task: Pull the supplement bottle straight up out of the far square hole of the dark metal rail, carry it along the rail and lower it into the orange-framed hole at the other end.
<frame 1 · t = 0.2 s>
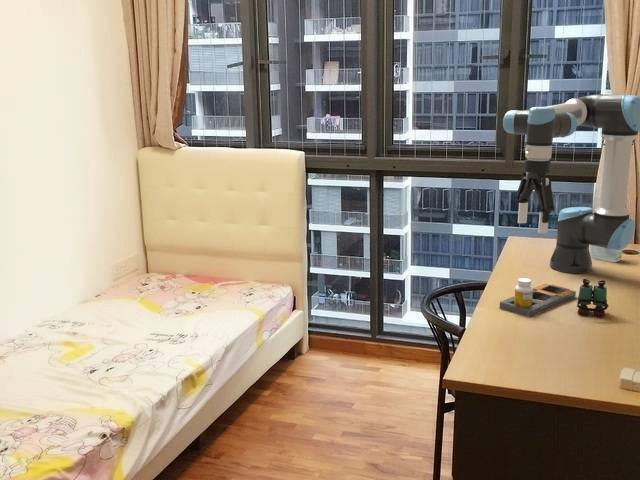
hand: (532, 227, 207), 26 cm above the table, tool pointing down, fingers open, 13 cm apart
skincare box: (605, 259, 267), on the table
binoculars: (591, 315, 208), on the table
supplement bottle: (522, 309, 213), resting in hole rail
hole rail: (538, 302, 219), on the table
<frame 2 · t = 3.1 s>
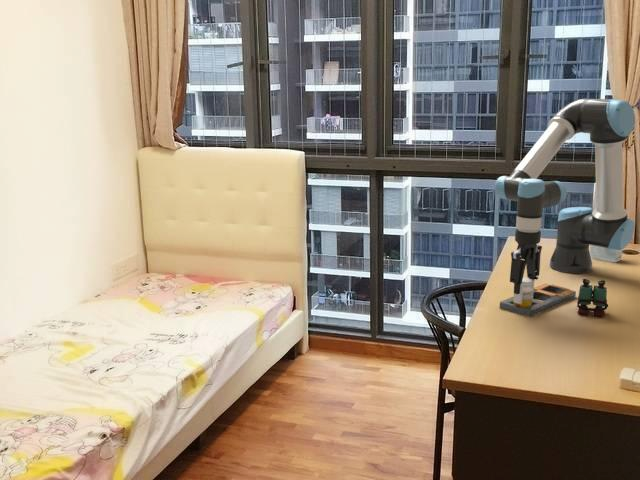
hand: (523, 300, 213), 3 cm above the table, tool pointing down, fingers closed on supplement bottle, 5 cm apart
supplement bottle: (522, 309, 213), resting in hole rail, touching gripper
everything else where it was.
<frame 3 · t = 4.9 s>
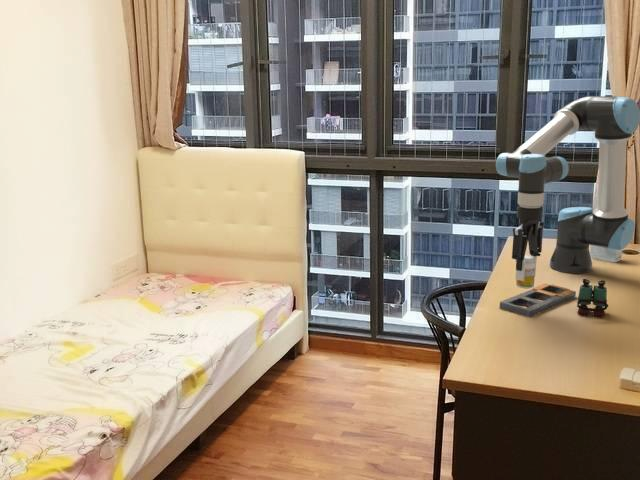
hand: (525, 277, 211), 10 cm above the table, tool pointing down, fingers closed on supplement bottle, 5 cm apart
supplement bottle: (524, 286, 212), point 7 cm above the table, touching gripper
everything else where it was.
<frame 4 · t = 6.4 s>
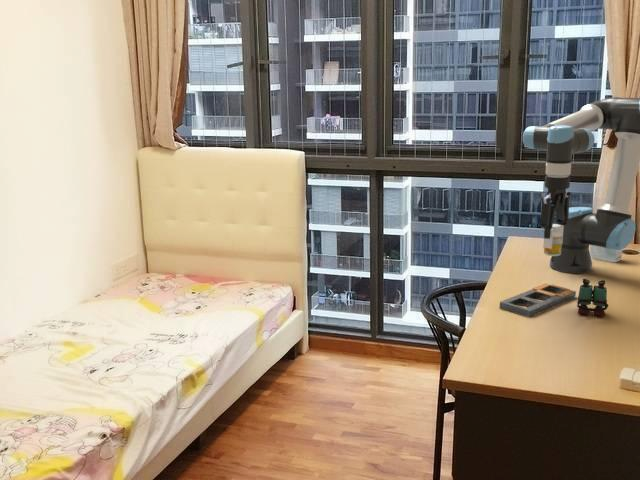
hand: (552, 245, 218), 18 cm above the table, tool pointing down, fingers closed on supplement bottle, 5 cm apart
supplement bottle: (552, 254, 219), point 15 cm above the table, touching gripper
everything else where it was.
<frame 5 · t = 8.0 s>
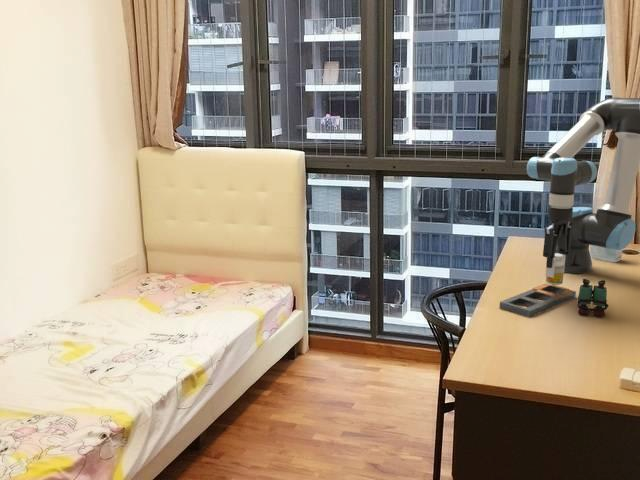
hand: (554, 274, 223), 8 cm above the table, tool pointing down, fingers closed on supplement bottle, 5 cm apart
supplement bottle: (553, 283, 223), point 5 cm above the table, touching gripper
everything else where it was.
when the fingers open (4 cm above the table, at t = 9.5 s): supplement bottle stays where it is, resting in hole rail.
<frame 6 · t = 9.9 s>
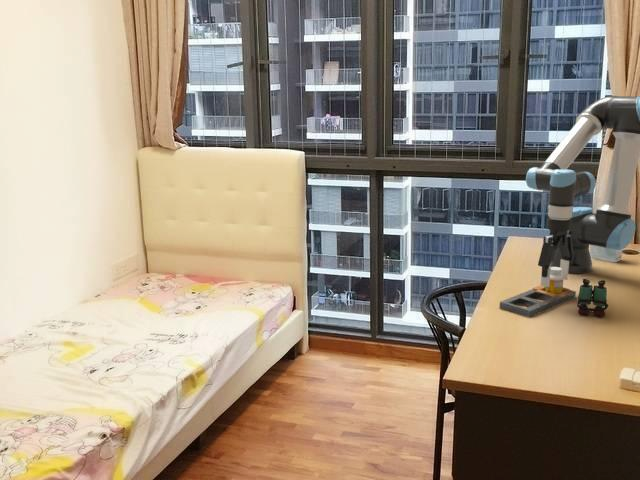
hand: (554, 282, 223), 5 cm above the table, tool pointing down, fingers open, 10 cm apart
supplement bottle: (553, 296, 225), resting in hole rail
everything else where it was.
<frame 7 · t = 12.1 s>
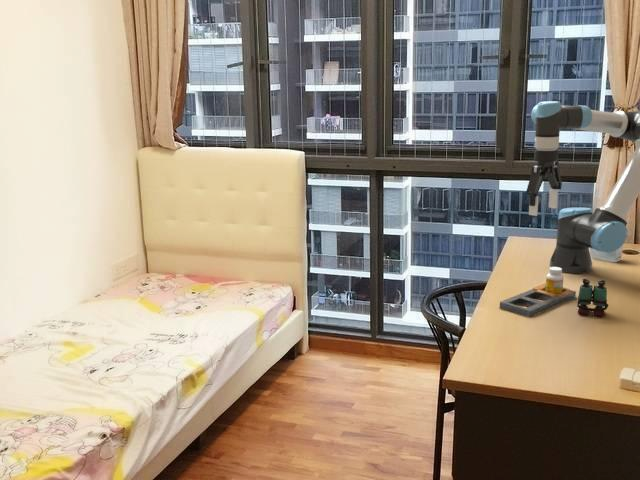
hand: (543, 211, 228), 27 cm above the table, tool pointing down, fingers open, 13 cm apart
nothing on the table moved.
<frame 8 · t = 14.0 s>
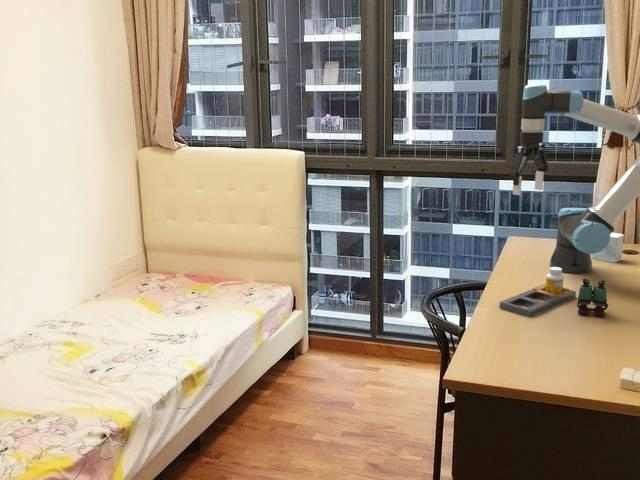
hand: (527, 192, 235), 32 cm above the table, tool pointing down, fingers open, 13 cm apart
nothing on the table moved.
at the end: supplement bottle 0.1 cm from the target spot on the hole rail, point 0.0 cm above the hole rail's base; supplement bottle tilted 0°; the gripper is holding nothing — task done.
